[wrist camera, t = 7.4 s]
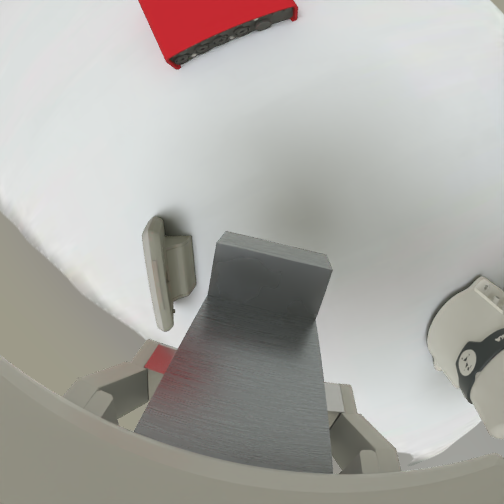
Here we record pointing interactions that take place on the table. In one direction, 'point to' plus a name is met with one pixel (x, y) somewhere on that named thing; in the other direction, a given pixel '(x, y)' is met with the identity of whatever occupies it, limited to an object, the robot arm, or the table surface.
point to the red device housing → (209, 23)
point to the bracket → (251, 363)
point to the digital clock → (167, 270)
